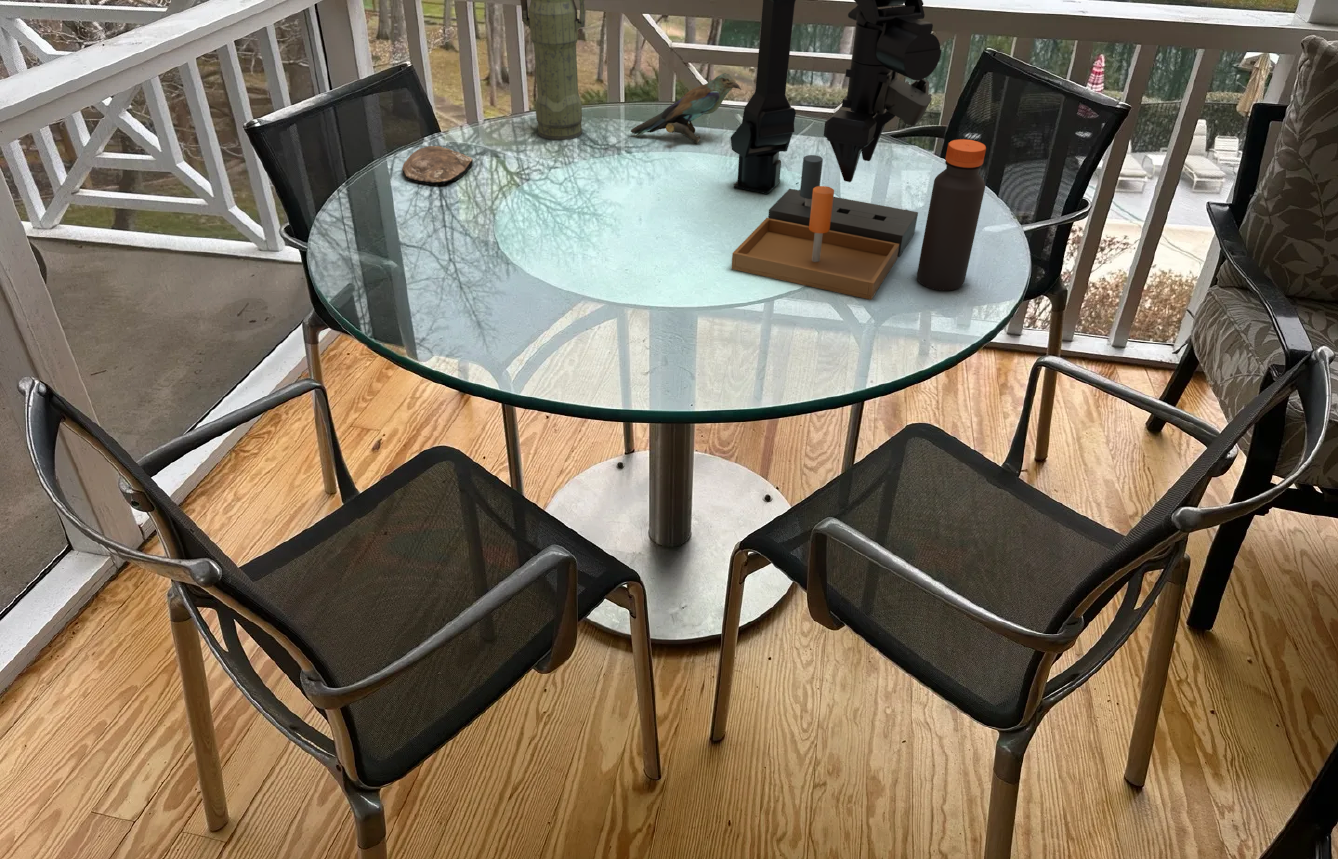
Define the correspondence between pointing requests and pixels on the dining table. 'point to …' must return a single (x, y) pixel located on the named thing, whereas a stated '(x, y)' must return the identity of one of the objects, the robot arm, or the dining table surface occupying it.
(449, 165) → the shell
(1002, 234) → the dining table surface
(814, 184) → the screwdriver
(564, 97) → the thermos
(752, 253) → the tray
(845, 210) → the rack
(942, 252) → the bottle
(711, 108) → the bird figurine
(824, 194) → the orange-handled tool
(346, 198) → the dining table surface
